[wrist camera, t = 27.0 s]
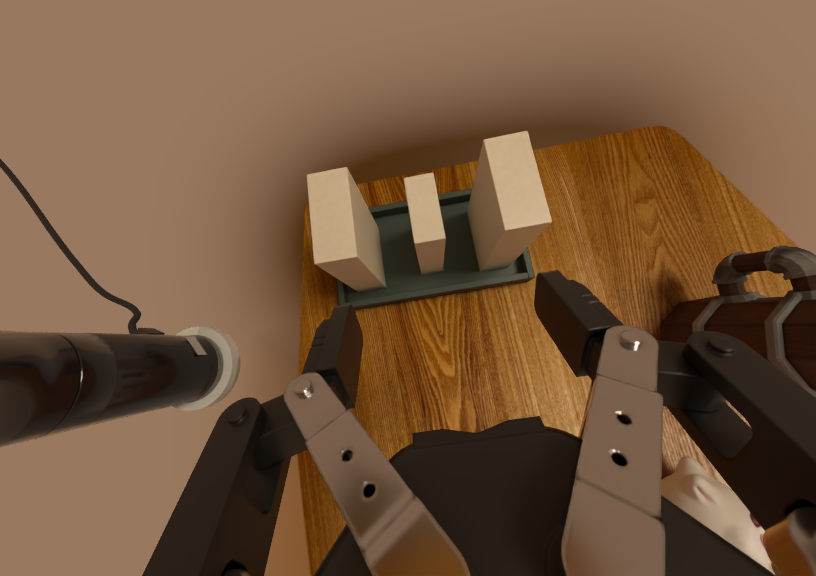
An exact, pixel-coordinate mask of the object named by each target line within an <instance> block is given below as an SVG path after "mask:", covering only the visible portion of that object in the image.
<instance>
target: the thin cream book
mask: <svg viewBox="0 0 816 576" xmlns="http://www.w3.org/2000/svg"><path fill="white" fill-rule="evenodd" d="M404 184H405V190H406V196H407V202H408V208H409V214H410V220H411V226H412V232H413V238H414V244H415V248H416V253H417V257H418V261H419V266H420V270H421V274H422V275H423V274H429V273H435V272H441V271H443V264H444V251H445V239H446V237H445V232H444V227H443V221H442V216H441V211H440V205H439V200H438V195H437V190H436V184H435V179H434V174H433V173H428V174H423V175H418V176H413V177H407V178H404Z"/></svg>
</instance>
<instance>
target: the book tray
mask: <svg viewBox="0 0 816 576" xmlns="http://www.w3.org/2000/svg"><path fill="white" fill-rule="evenodd" d="M471 193H472V189H467V190H461V191H456V192H451V193H445V194H440V195H438V200H439V205H440V211H441V216H442V221H443V227H444V232H445V237H446V239H445V251H444V264H443V271H441V272H435V273H429V274H423V275H422V274H421V270H420V266H419V261H418V257H417V253H416V248H415V244H414V238H413V232H412V226H411V220H410V214H409V208H408V202H407V201H403V202H398V203H392V204H387V205H382V206H377V207H371V208H368V209H369V211H370V213H371V215H372V217H373V218H374V220H375V222H376V224H377V226H378V229H379V236H380V244H381V251H382V259H383V266H384V274H385V282H386V288H381V289H375V290H369V291H363V292H358V291H356V290H354V289H353V288H351V287H350V286H348V285H347V284H345V283H343V282H342V281H340V280H339V279H337V287H338V297H339V306H343V305H349V304H351V305H352V306H353V308H354V310H357V309H363V308H369V307H375V306H381V305H388V304H394V303H400V302H406V301H412V300H418V299H424V298H430V297H436V296H442V295H448V294H454V293H460V292H467V291H473V290H479V289H485V288H491V287H497V286H503V285H509V284H515V283H521V282H527V281H530V280H531V279H533V278H534V277H535V275H534V270H533V266H532V262H531V258H530V254H529V250H528V247H527V248H526V249H525V251H524V252H523V253H522V254H521V255H520V256H519V257H518V258H517V259H516V260H515V261H514V262H513V263H512V264H511V265H510V266H509V267H505V268H499V269H493V270H487V271H482V272H480V270H479V266H478V261H477V256H476V251H475V247H474V242H473V237H472V233H471V228H470V223H469V218H468V214H467V210H468V206H469V201H470V197H471Z"/></svg>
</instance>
